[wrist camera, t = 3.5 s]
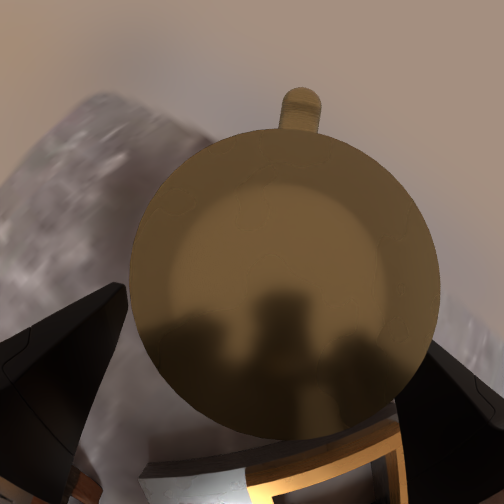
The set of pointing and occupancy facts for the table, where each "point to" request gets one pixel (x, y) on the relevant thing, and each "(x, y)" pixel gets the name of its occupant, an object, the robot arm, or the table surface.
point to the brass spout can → (285, 280)
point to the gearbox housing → (286, 467)
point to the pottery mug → (78, 489)
